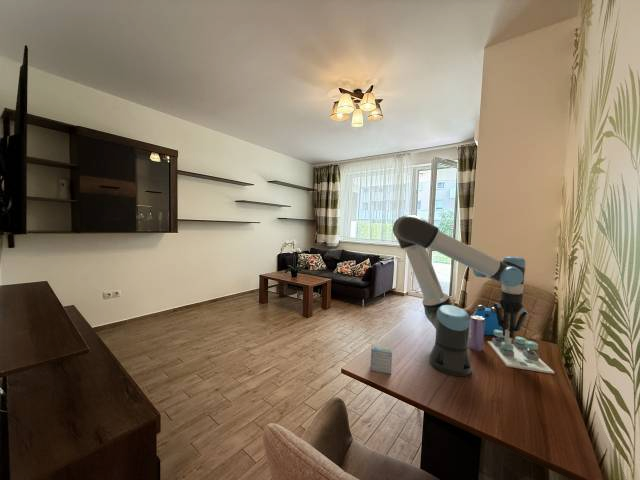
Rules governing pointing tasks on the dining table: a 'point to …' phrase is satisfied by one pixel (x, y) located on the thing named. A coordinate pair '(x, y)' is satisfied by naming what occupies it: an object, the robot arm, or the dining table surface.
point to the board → (519, 357)
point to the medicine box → (381, 359)
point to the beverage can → (476, 332)
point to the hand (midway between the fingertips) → (507, 343)
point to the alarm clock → (488, 318)
